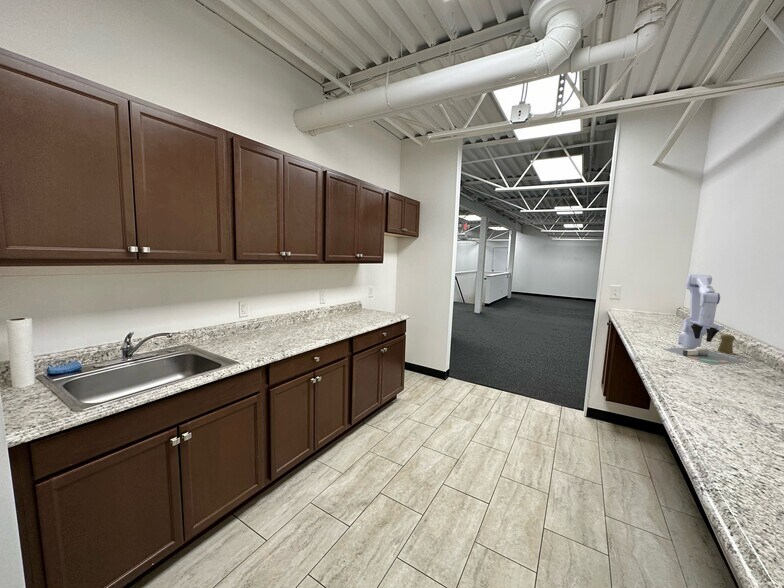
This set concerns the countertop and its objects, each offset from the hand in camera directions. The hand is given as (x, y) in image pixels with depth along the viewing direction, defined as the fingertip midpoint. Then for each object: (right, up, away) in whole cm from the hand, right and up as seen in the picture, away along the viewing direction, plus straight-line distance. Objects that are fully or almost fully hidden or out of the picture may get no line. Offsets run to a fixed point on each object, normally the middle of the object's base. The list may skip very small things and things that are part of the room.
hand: (702, 340), depth 164 cm
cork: (+19, -9, +7) cm, 22 cm away
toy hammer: (-4, -8, +1) cm, 9 cm away
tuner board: (0, -9, 0) cm, 9 cm away
